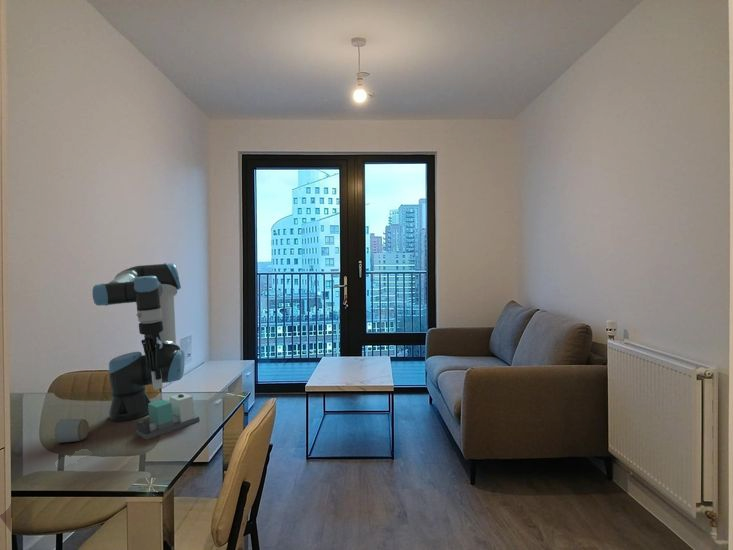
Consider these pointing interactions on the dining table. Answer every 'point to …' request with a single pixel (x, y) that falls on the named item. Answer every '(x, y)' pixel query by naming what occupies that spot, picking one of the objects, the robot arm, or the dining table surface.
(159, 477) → the dining table surface
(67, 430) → the ceramic mug
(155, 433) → the board
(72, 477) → the dining table surface
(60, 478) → the dining table surface
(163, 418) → the block
